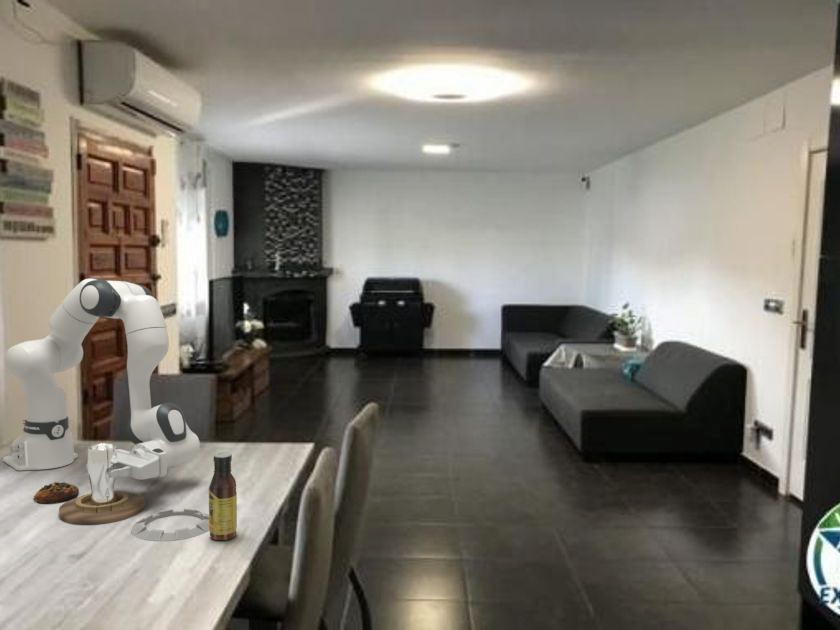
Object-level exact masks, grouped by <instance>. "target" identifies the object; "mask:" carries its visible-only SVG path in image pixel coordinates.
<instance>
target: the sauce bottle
mask: <svg viewBox="0 0 840 630" xmlns="http://www.w3.org/2000/svg"><path fill="white" fill-rule="evenodd" d="M232 459H233V458H232V453H231V452H225V451H222V452H216V453H214V455H213V463H214V467H213V469H214V471H213V476H212V478H211V481H210V484H209V487H208V514H209V531H208V532H209V536H210V538H211V539H212V540H214V541H228V540H231V539H233V538H234V537H235V536H236V535H237V525H238V524H237V523H238V522H237V521H238V520H237V519H238V517H237V515H238V513H237V507H238V506H237V505H238V504H237V503H238V502H237V501H238V500H237V498H238V497H237V492H238V491H237V481H236V479H235V477H234V475H233V474H232Z"/></svg>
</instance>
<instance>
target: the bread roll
mask: <svg viewBox="0 0 840 630" xmlns="http://www.w3.org/2000/svg"><path fill="white" fill-rule="evenodd" d="M79 493H80V489H79V488H78V486H77V485H75V484H72V483H69V482H65V481H63V482H60V481H59V482H58V481H54V482H53V483H49V484H48V485H47V484H45V485H44V486H43V487H41V488H40V489H39V490H38V491H36V492H35V495H33V500H34V501H35V502H37V503H39V504H41V503H42V504H61V503H66V502H67V501H70V500H72V499H74V498H77V497H78V495H79Z"/></svg>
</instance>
